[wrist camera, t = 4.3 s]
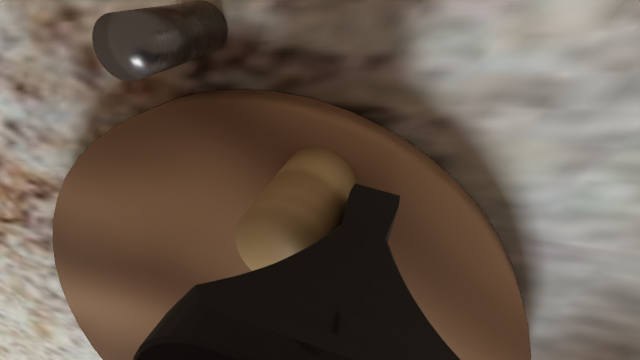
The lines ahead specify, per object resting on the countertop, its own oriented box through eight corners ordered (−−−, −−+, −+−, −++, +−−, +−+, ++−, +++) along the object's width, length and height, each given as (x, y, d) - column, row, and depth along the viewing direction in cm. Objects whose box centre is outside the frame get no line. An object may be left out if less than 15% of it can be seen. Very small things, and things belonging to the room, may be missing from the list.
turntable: (396, 504, 22) (385, 631, 18) (79, 351, 24) (0, 433, 20) (658, 235, 12) (773, 379, 8) (78, 0, 14) (-86, 14, 10)
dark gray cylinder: (333, 433, 21) (312, 522, 18) (108, 302, 21) (43, 365, 18) (567, 206, 13) (612, 294, 9) (189, -9, 13) (97, -1, 9)
